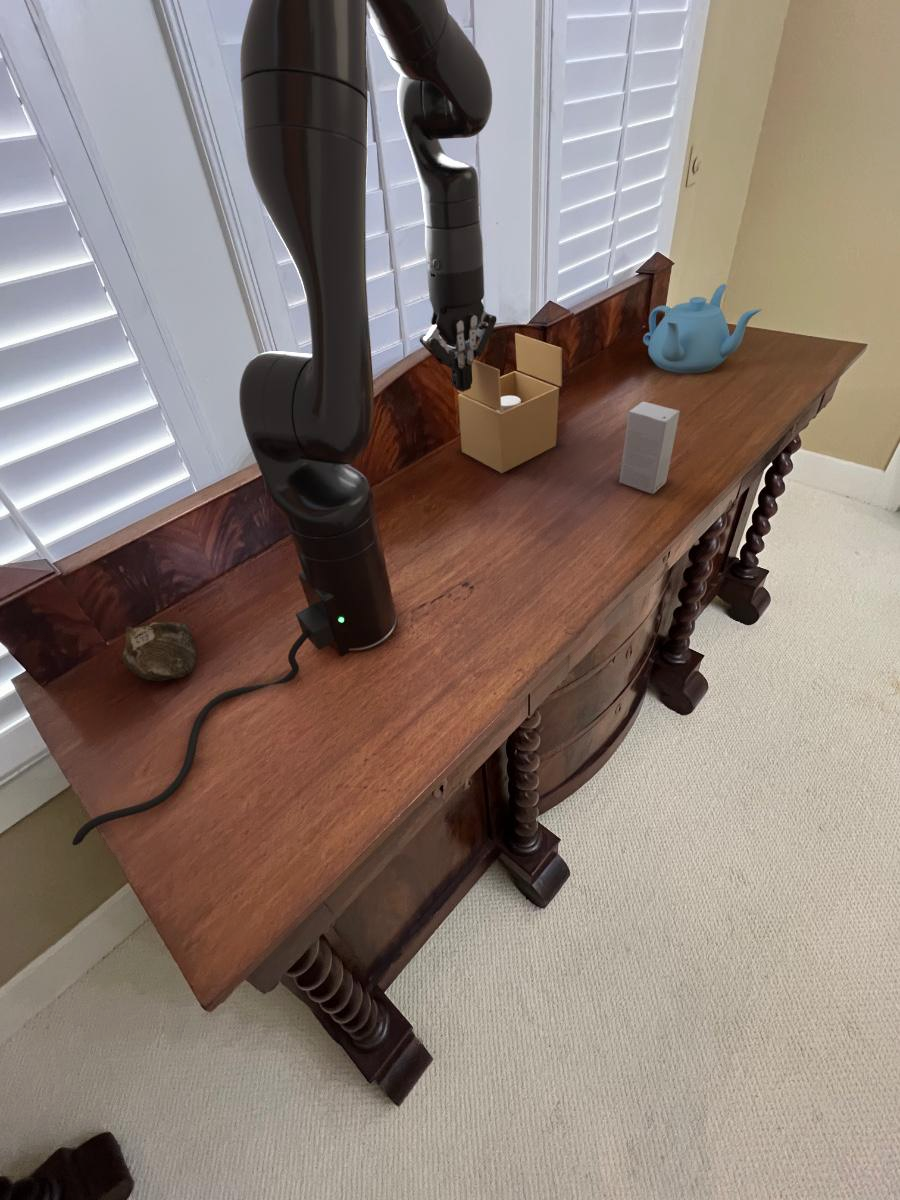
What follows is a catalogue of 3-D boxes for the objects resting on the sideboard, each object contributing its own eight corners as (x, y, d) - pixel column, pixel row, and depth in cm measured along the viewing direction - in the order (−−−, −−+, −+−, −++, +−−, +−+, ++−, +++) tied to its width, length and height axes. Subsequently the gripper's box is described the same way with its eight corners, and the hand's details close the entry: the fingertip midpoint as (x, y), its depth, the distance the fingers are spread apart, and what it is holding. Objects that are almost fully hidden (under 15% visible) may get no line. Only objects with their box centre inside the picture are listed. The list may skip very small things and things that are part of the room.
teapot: (748, 372, 117) (766, 307, 109) (657, 383, 117) (669, 318, 108) (711, 342, 130) (725, 281, 121) (629, 351, 129) (637, 291, 121)
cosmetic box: (666, 483, 91) (681, 410, 83) (652, 495, 89) (666, 422, 81) (631, 471, 94) (643, 400, 86) (617, 482, 92) (627, 410, 84)
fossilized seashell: (118, 631, 72) (119, 699, 66) (127, 595, 68) (129, 664, 62) (184, 634, 76) (190, 698, 70) (196, 600, 72) (203, 665, 67)
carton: (501, 473, 96) (500, 373, 85) (461, 451, 103) (455, 356, 91) (558, 444, 102) (564, 347, 91) (517, 425, 108) (518, 332, 97)
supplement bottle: (520, 454, 100) (521, 407, 94) (493, 452, 101) (492, 406, 95) (523, 440, 103) (524, 394, 97) (497, 439, 104) (496, 393, 98)
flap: (501, 410, 89) (499, 410, 89) (458, 390, 95) (457, 391, 95) (499, 369, 85) (498, 370, 85) (455, 352, 91) (453, 352, 91)
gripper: (474, 246, 82) (479, 369, 94) (397, 269, 77) (413, 396, 89) (510, 254, 78) (511, 382, 90) (432, 279, 72) (444, 411, 84)
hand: (462, 389), depth 89 cm, fingers closed
